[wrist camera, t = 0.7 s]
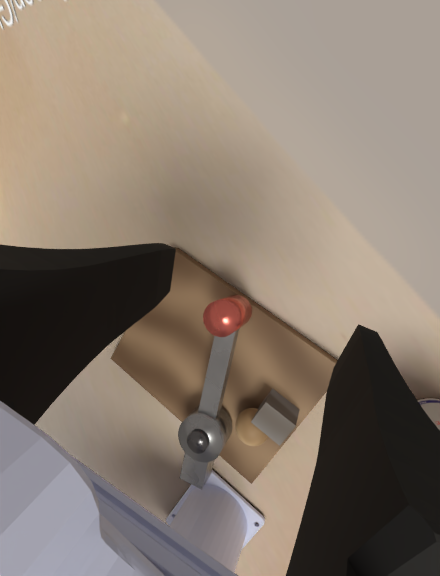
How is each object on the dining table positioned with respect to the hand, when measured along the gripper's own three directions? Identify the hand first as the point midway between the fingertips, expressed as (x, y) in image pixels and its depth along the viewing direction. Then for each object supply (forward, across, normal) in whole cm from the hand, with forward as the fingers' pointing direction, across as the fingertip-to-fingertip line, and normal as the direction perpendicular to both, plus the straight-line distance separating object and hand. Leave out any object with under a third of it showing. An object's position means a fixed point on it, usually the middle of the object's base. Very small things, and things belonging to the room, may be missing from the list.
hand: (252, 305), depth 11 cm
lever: (+11, +3, +17) cm, 21 cm away
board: (+13, +4, +17) cm, 22 cm away
